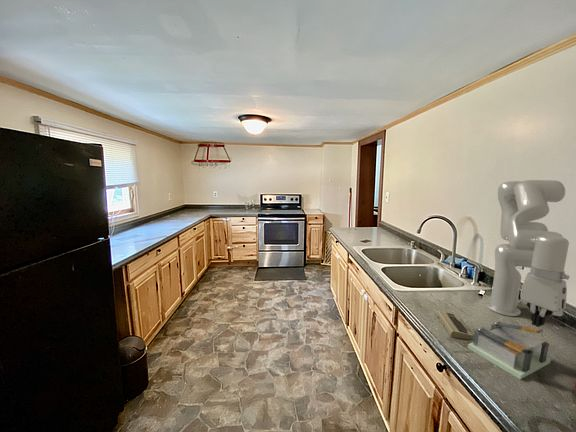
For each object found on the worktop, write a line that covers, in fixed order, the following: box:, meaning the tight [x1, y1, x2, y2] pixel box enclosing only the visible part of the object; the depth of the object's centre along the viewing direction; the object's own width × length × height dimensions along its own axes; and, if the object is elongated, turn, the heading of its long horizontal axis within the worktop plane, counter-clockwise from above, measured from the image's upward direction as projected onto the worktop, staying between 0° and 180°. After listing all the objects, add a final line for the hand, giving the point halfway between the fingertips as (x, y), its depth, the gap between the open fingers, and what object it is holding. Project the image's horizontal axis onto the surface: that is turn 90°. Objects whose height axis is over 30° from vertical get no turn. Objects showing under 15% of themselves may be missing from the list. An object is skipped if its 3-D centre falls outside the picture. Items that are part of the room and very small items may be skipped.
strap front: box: [477, 327, 527, 353], centre depth 88 cm, size 2×14×1 cm, turn 23°
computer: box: [436, 310, 474, 340], centre depth 108 cm, size 16×8×3 cm, turn 168°
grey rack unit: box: [473, 321, 550, 372], centre depth 90 cm, size 16×15×6 cm
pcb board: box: [467, 342, 552, 380], centre depth 91 cm, size 18×16×2 cm
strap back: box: [493, 321, 544, 334], centre depth 92 cm, size 2×14×1 cm, turn 23°
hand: (537, 324), depth 87 cm, fingers closed
